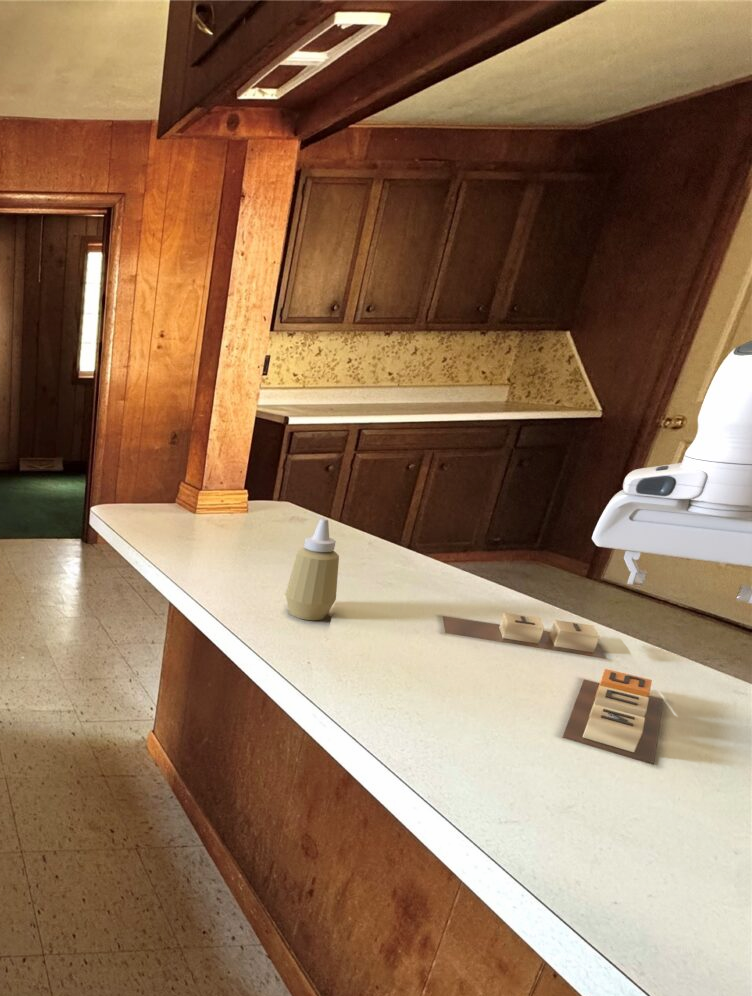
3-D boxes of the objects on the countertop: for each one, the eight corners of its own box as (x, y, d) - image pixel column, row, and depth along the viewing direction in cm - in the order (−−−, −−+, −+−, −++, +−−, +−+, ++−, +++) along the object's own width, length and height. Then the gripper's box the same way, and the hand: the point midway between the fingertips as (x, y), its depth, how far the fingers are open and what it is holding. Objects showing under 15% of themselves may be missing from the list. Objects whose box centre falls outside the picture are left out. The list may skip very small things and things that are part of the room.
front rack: (581, 685, 94) (590, 660, 93) (660, 705, 89) (671, 679, 88) (560, 742, 82) (570, 715, 81) (650, 770, 77) (663, 741, 75)
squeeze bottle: (275, 606, 124) (290, 513, 117) (319, 606, 124) (336, 512, 117) (294, 624, 117) (311, 526, 110) (340, 623, 116) (360, 525, 110)
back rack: (592, 644, 106) (600, 621, 104) (604, 664, 100) (613, 641, 98) (441, 620, 116) (446, 600, 114) (443, 638, 110) (449, 616, 108)
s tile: (598, 686, 92) (605, 667, 91) (644, 697, 89) (652, 678, 88) (594, 698, 89) (601, 679, 88) (641, 711, 86) (650, 691, 85)
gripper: (872, 488, 72) (817, 604, 77) (614, 469, 86) (583, 569, 91) (880, 499, 68) (822, 621, 73) (609, 478, 82) (576, 581, 88)
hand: (687, 592), depth 83 cm, fingers open, 8 cm apart
